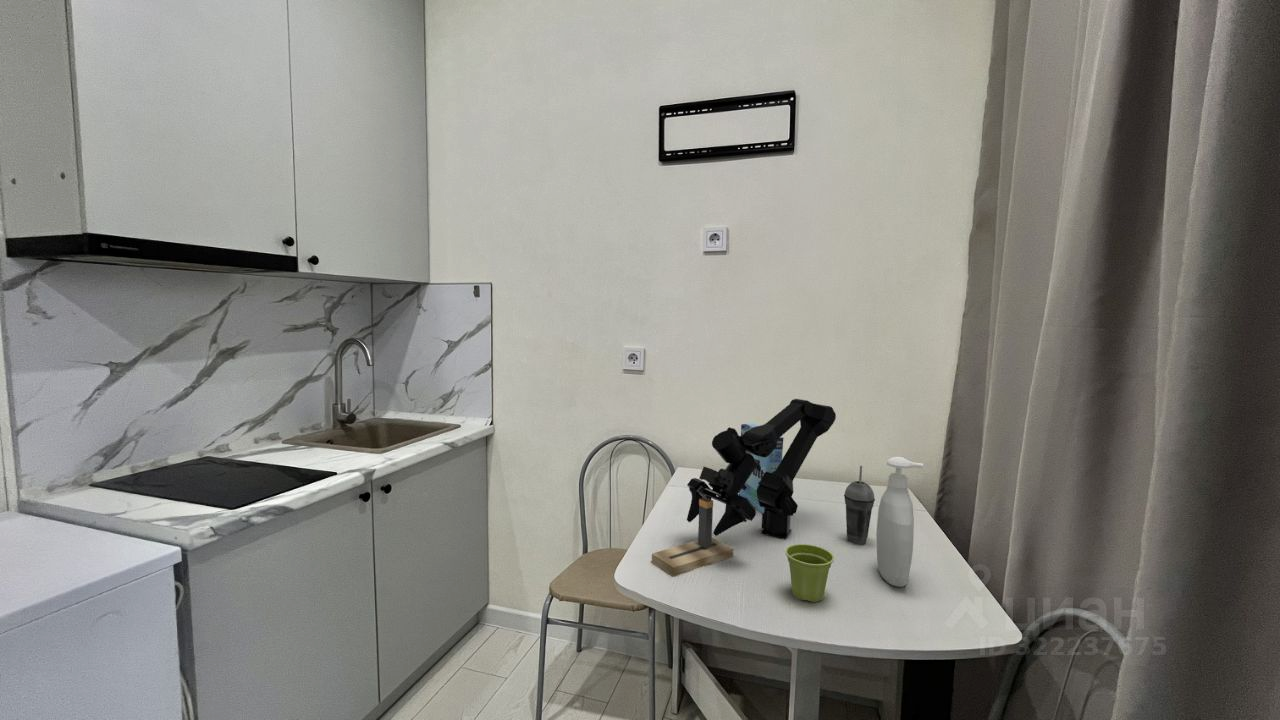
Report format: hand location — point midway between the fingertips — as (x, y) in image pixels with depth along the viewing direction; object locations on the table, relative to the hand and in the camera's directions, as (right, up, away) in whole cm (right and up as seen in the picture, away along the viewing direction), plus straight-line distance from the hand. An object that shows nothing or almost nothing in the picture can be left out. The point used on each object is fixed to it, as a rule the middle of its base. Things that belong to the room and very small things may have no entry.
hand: (700, 527), depth 121 cm
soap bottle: (+42, -9, -7) cm, 43 cm away
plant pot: (+20, -9, -15) cm, 27 cm away
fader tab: (+1, -5, +1) cm, 5 cm away
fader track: (-2, -7, -1) cm, 7 cm away
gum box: (+22, -5, +38) cm, 44 cm away
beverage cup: (+41, -7, +12) cm, 44 cm away
